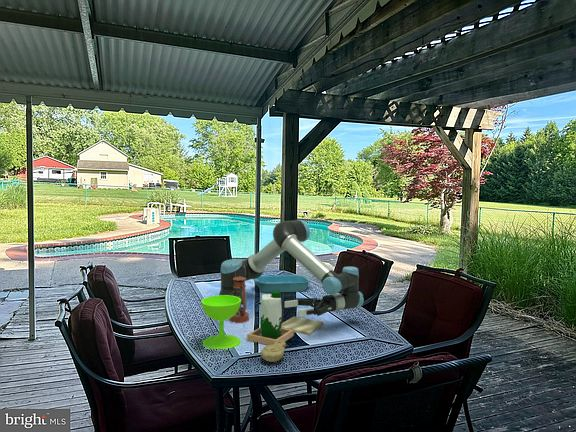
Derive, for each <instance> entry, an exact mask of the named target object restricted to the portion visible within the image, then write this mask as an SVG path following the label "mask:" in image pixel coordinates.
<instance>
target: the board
mask: <svg viewBox="0 0 576 432" xmlns="http://www.w3.org/2000/svg"><path fill="white" fill-rule="evenodd" d="M324 325H325V321H322V320H321V321H320V320H315V319H311V318H305V317H301V316H300V317H299V316H292V317H290V318H289V319H287V320H286V321H284V322H282V325H281V328H286V329H291V330H294V333H295V334H296V333H297V334H302V335H306V336H310V335H312V334H313V333H315V332H316V331H317V330H319V329H320V328H321V327H323V326H324Z"/></svg>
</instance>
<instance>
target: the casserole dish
mask: <svg viewBox="0 0 576 432" xmlns="http://www.w3.org/2000/svg"><path fill="white" fill-rule="evenodd" d="M252 280H253V282H254V283H256V284H257V287H258V289H259V290H260V291H261V292H263V293H266V294H271V293H272V291H281V293H297V292H305V291H306V290H307V288H308V286H309V283H310V281H312V280H311V278H310V277H308V276H305V275H301V274H300V275H299V274H284V275H283V274H280V275H261V276H260V277H258V278H256V279H252Z"/></svg>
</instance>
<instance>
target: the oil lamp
mask: <svg viewBox="0 0 576 432" xmlns="http://www.w3.org/2000/svg"><path fill="white" fill-rule="evenodd" d="M286 346H287V343H286V341H285V342H284V341H277V342H274V343H273V345H265V346H264V347H263V348H262V349H261V350H260V357H262V359H264V360H265V361H266V362H267V361H269V362H276V361H278V362H279V361H280V360H281V359H282V358H283V357H284V354H285V350H286V349H285V348H286ZM269 362H268V363H269ZM276 363H277V362H276Z"/></svg>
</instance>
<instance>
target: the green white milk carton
mask: <svg viewBox="0 0 576 432" xmlns="http://www.w3.org/2000/svg"><path fill="white" fill-rule="evenodd" d="M282 305H283V304H282V292H281V291H272V293H267V294H261V301H260V310H259V311H260V312H259V315H260V319H259V320H260V321H259V324H260V325H259V326H260V327H261V334H260V335H261V336H262V337H266V338H271V339H275V340H276V339H278V338H279V337H281V336H282V334H281V325H282V323H283V322H282V321H283V318H282V316H283V313H282V311H283V309H282ZM260 327H259V328H260Z"/></svg>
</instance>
